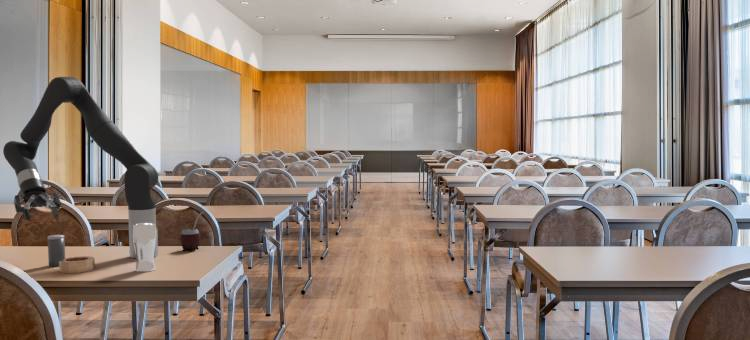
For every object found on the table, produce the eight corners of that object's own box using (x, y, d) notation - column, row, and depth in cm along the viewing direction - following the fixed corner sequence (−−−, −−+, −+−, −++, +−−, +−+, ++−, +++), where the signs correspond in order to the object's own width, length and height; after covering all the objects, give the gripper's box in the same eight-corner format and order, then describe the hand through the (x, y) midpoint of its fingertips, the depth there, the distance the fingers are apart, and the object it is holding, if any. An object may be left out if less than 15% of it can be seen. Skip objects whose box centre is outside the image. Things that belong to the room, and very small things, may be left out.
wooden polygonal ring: (97, 266, 206) (97, 255, 206) (89, 272, 196) (89, 261, 196) (65, 267, 204) (65, 257, 204) (55, 273, 194) (55, 262, 194)
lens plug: (67, 263, 211) (66, 234, 211) (62, 266, 206) (61, 236, 206) (51, 264, 210) (50, 235, 210) (46, 267, 205) (45, 237, 205)
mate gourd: (178, 250, 235) (177, 211, 235) (198, 247, 240) (197, 209, 239) (185, 252, 229) (184, 212, 229) (205, 250, 234) (204, 211, 233)
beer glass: (134, 273, 194) (132, 225, 193) (133, 269, 200) (132, 223, 199) (157, 271, 197) (156, 224, 196) (156, 267, 203) (154, 221, 202)
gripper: (11, 178, 216) (22, 213, 208) (54, 176, 226) (67, 209, 219) (6, 192, 220) (18, 227, 212) (49, 190, 230) (62, 223, 223)
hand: (43, 218), depth 216 cm, fingers open, 8 cm apart
